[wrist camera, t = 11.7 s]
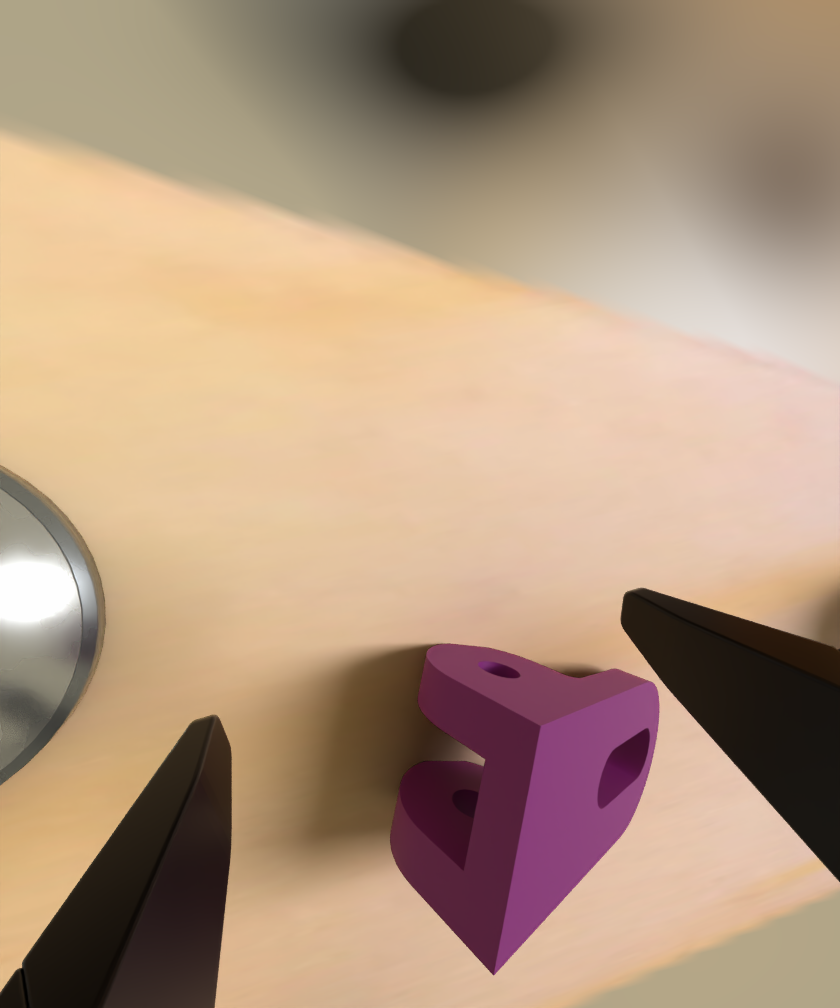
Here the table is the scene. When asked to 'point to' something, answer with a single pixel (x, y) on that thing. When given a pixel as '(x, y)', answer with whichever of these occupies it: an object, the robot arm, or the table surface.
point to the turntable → (42, 620)
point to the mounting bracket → (519, 789)
